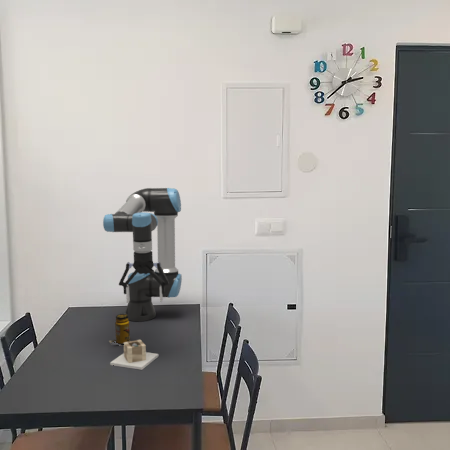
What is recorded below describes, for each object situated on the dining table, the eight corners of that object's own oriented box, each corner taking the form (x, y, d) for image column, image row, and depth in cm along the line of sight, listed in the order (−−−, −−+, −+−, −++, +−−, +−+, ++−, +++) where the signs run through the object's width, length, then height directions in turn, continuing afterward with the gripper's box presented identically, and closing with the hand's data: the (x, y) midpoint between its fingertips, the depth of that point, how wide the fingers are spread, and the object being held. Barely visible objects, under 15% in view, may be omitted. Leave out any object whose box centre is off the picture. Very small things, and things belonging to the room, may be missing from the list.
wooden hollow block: (124, 356, 211) (123, 342, 211) (141, 353, 214) (140, 339, 214) (128, 363, 205) (128, 347, 204) (146, 359, 208) (145, 344, 207)
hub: (128, 352, 219) (127, 335, 218) (158, 356, 214) (158, 339, 213) (110, 365, 206) (109, 347, 205) (142, 369, 201) (141, 352, 200)
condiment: (133, 342, 230) (132, 316, 228) (114, 346, 225) (113, 319, 223) (126, 337, 236) (125, 312, 234) (108, 341, 231) (107, 315, 229)
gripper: (110, 253, 209) (112, 304, 212) (172, 252, 209) (174, 303, 213) (113, 249, 216) (116, 298, 220) (174, 248, 216) (175, 298, 220)
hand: (144, 301), depth 216 cm, fingers open, 13 cm apart
